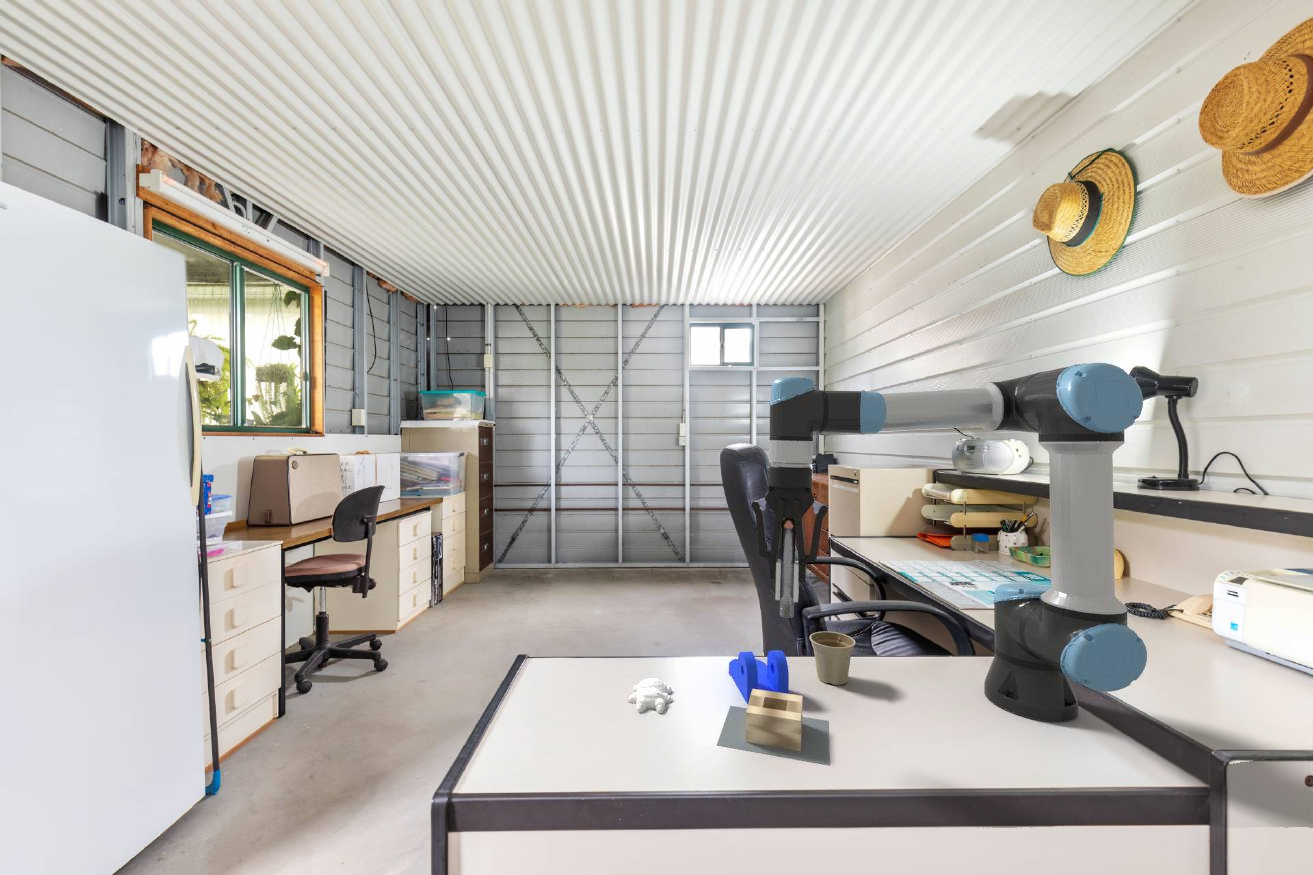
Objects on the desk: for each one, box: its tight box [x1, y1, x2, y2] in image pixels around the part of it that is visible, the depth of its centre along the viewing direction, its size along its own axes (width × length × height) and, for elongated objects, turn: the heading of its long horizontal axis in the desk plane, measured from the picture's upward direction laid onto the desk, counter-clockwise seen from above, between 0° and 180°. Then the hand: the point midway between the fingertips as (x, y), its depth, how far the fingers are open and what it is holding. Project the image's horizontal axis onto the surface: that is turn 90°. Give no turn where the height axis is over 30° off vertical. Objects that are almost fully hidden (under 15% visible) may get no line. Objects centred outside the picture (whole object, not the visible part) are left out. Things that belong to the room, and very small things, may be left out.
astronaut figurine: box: [627, 677, 674, 715], centre depth 106 cm, size 9×12×3 cm
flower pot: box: [809, 631, 856, 686], centre depth 115 cm, size 9×9×9 cm
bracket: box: [728, 649, 790, 705], centre depth 112 cm, size 18×8×9 cm, turn 6°
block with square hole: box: [746, 689, 804, 751], centre depth 93 cm, size 9×9×5 cm
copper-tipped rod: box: [779, 518, 797, 619], centre depth 93 cm, size 3×3×17 cm
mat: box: [716, 705, 831, 766], centre depth 93 cm, size 18×14×1 cm
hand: (786, 598), depth 93 cm, fingers closed on copper-tipped rod, 2 cm apart
